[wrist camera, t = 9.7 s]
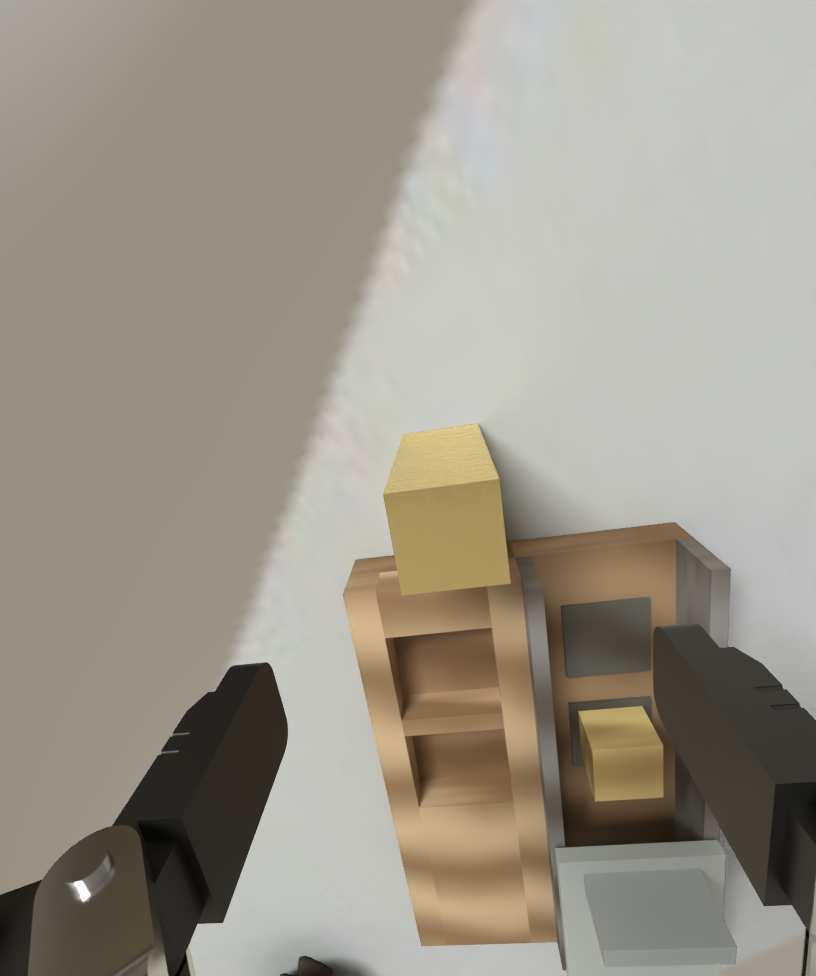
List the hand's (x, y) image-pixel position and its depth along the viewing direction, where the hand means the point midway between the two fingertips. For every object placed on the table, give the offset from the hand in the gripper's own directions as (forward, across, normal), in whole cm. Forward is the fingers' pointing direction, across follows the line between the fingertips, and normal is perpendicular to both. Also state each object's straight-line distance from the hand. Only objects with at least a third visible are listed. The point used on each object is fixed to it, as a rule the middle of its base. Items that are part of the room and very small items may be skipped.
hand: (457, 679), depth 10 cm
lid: (+12, -7, +27) cm, 31 cm away
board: (+17, -3, +19) cm, 26 cm away
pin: (+17, 0, 0) cm, 17 cm away
